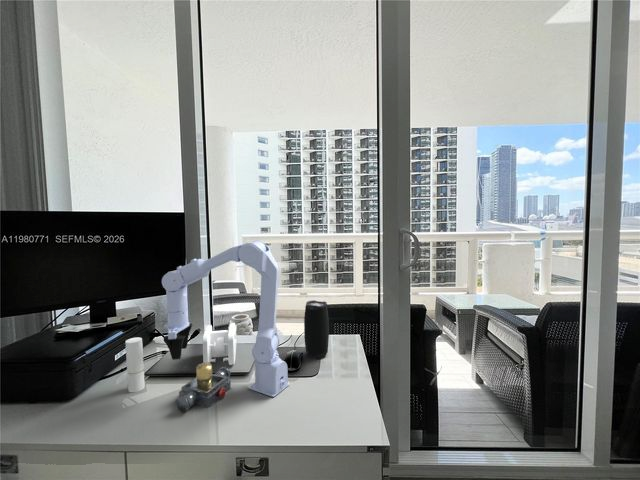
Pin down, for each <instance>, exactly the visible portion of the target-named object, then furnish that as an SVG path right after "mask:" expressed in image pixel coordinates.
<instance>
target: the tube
mask: <svg viewBox="0 0 640 480" xmlns="http://www.w3.org/2000/svg"><path fill="white" fill-rule="evenodd" d="M143 347H144V346H143V338H142V337H131V338H128V339H126V340H125V357H126V359H125V360H126V373H127V389H128V390H127V391H128V393H138V392H140V391H142V390H144V389H145V387H146V385H145V368H144V365H145V364H144V351H143Z"/></svg>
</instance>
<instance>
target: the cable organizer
mask: <svg viewBox="0 0 640 480" xmlns="http://www.w3.org/2000/svg"><path fill="white" fill-rule="evenodd" d="M237 328H238V326H237V324H236V323H235V322H231V323H229V326H228V329H225V330H224V329H223V330H221V329H220V330H214V331H213V326H212V324H208V325H207V326H206V328H205V331H204V333H203V336H202V357H203V358H202V360H203V362H202V363H216V358H223V362H225V361H227V362H228V365H230V366H233V365H235V363H236V354H237ZM232 364H233V365H232Z"/></svg>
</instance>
